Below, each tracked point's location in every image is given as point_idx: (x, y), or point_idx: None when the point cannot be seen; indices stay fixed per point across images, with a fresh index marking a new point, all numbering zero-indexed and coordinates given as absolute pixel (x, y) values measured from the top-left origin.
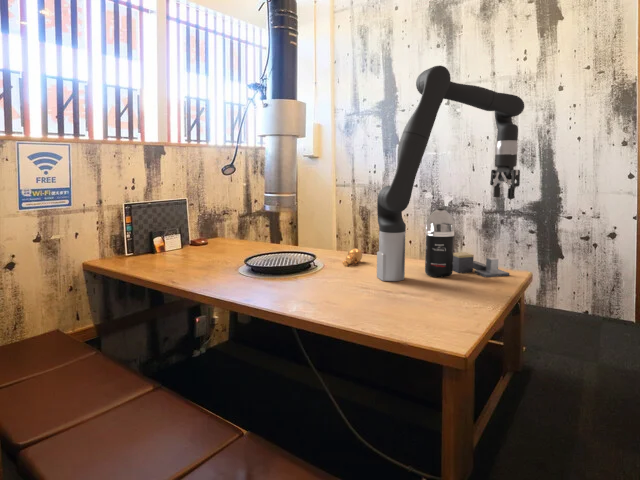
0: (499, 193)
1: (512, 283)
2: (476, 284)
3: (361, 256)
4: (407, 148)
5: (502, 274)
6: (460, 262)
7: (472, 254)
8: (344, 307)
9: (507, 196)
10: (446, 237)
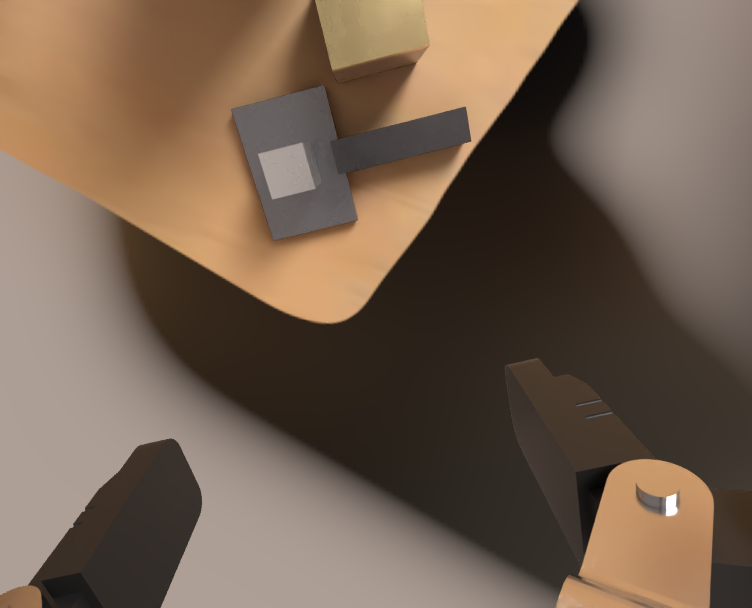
0: (534, 471)
1: (131, 196)
2: (80, 10)
3: None
4: None
5: (263, 204)
6: None
7: (345, 66)
8: None
9: (158, 451)
10: None
